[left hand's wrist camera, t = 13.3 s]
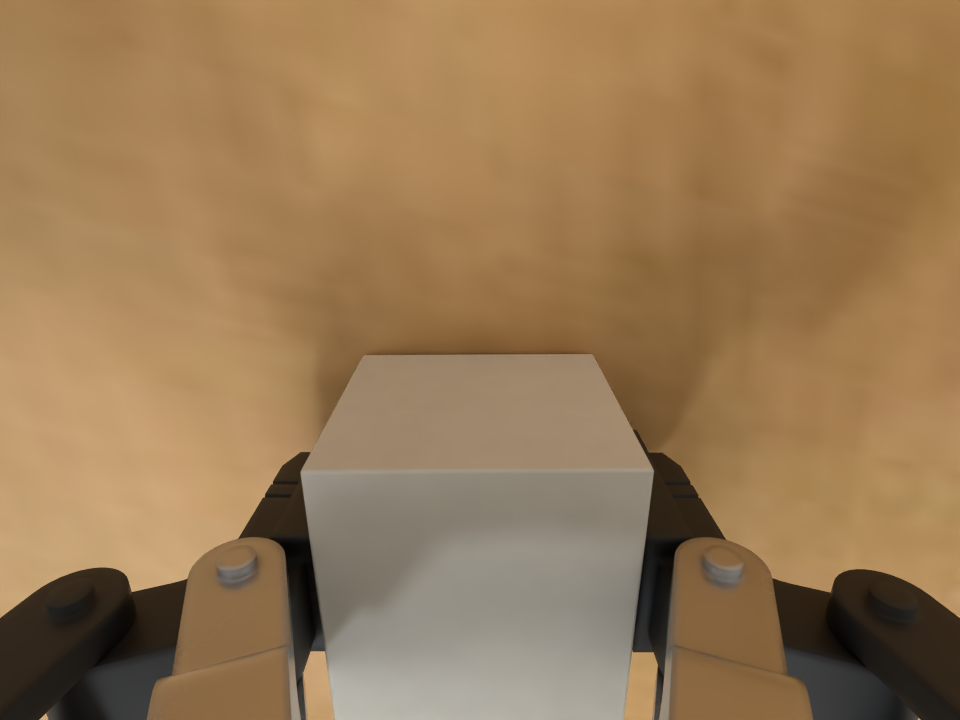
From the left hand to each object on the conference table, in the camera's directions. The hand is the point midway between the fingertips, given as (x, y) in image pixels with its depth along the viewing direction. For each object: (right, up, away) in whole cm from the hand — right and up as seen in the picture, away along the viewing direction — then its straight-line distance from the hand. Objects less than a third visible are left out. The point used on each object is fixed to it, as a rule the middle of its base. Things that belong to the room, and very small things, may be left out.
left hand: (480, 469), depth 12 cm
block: (0, 0, 0) cm, 0 cm away
